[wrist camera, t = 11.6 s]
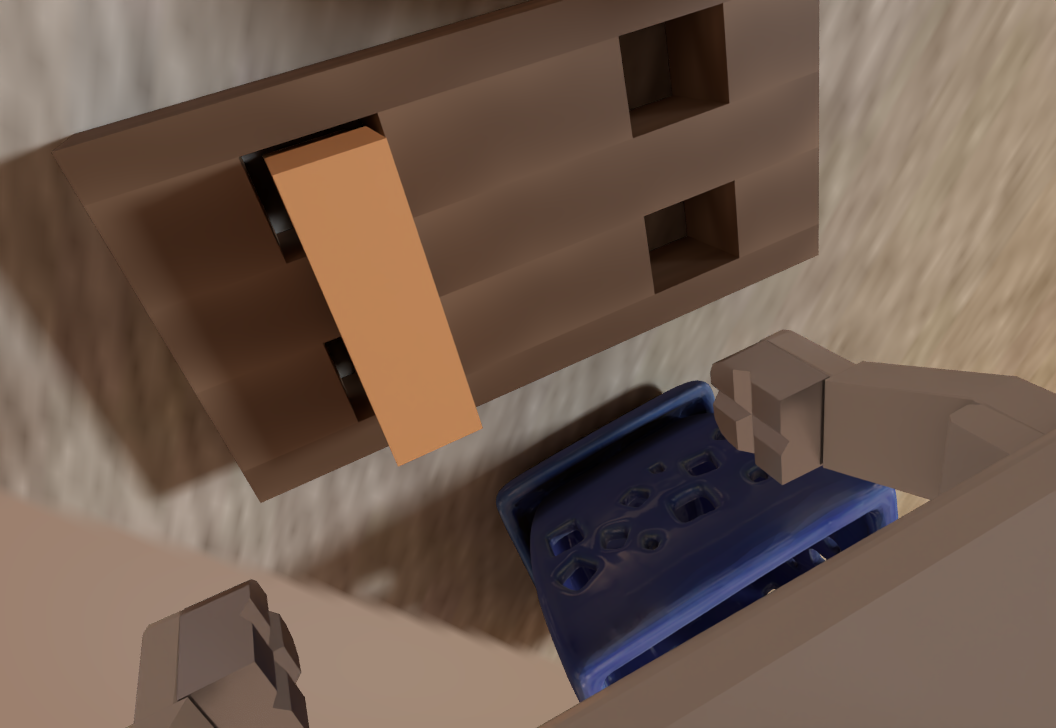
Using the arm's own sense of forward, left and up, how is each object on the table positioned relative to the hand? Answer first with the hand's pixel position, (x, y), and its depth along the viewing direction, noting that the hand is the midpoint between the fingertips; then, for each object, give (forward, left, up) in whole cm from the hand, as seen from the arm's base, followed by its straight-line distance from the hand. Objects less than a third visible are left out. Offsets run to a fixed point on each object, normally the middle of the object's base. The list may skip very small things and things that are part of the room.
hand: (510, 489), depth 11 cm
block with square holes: (0, +6, -16) cm, 17 cm away
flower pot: (+17, +8, -16) cm, 25 cm away
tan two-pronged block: (0, 0, -16) cm, 16 cm away
